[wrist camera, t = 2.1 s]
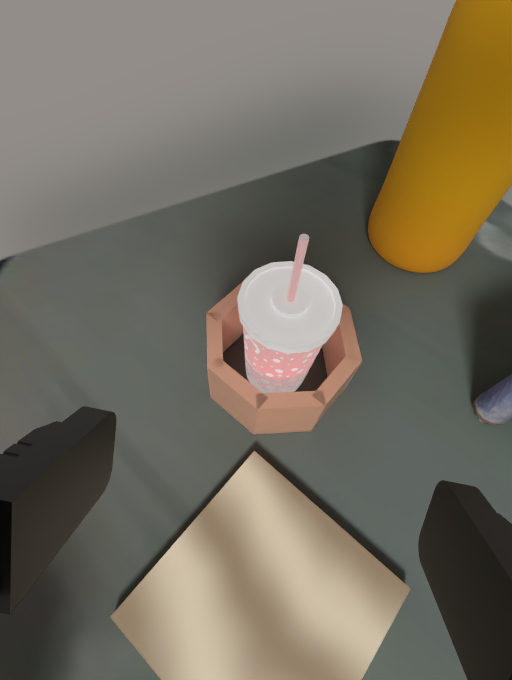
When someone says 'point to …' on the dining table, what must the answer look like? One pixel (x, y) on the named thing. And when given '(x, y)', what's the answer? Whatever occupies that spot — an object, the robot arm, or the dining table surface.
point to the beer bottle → (451, 145)
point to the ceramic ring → (284, 407)
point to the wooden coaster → (262, 591)
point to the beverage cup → (286, 320)
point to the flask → (495, 403)
